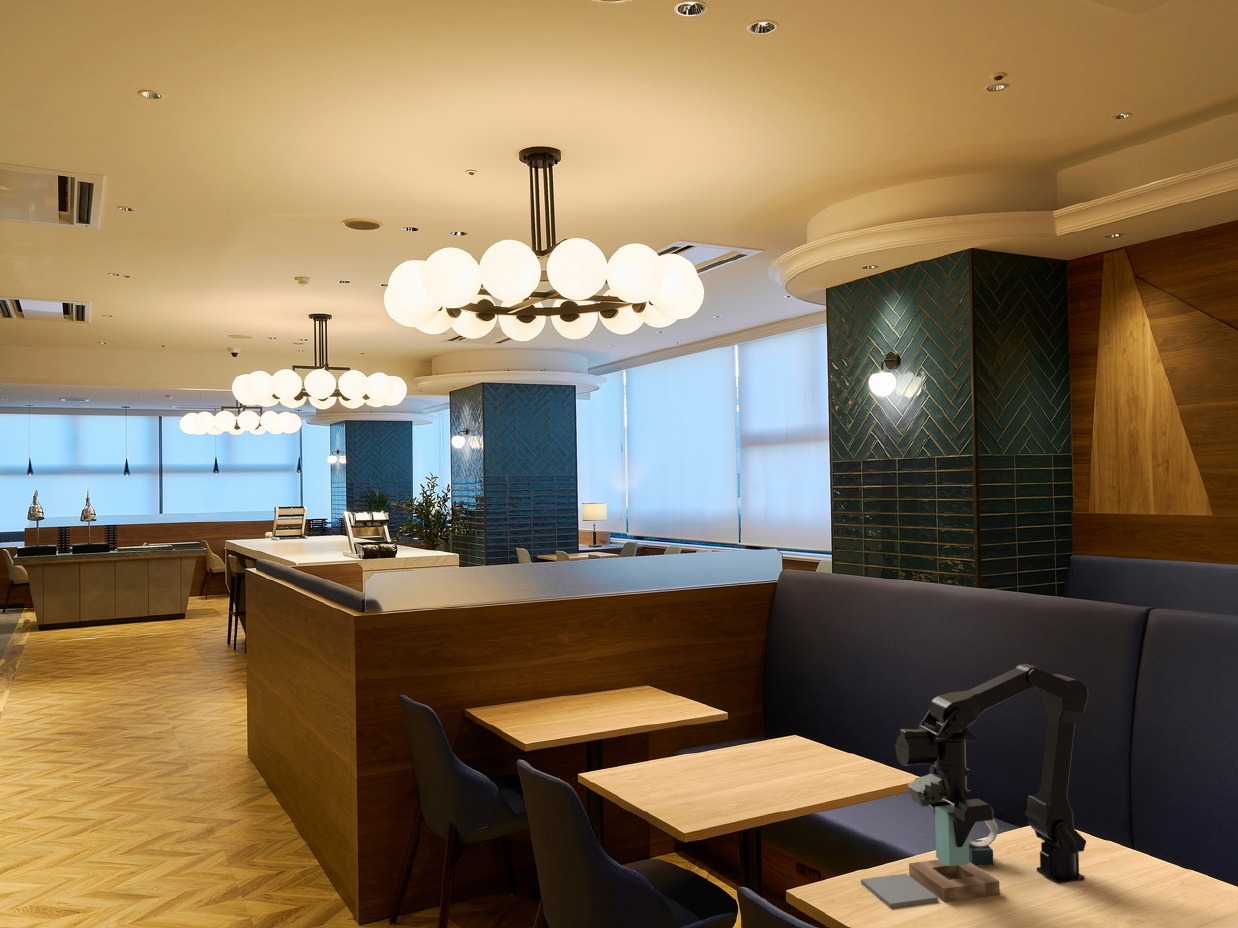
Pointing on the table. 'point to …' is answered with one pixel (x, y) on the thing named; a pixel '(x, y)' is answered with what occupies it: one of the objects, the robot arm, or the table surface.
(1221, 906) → the table surface
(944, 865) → the pocket
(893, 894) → the pad
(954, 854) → the peg
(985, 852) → the watch
